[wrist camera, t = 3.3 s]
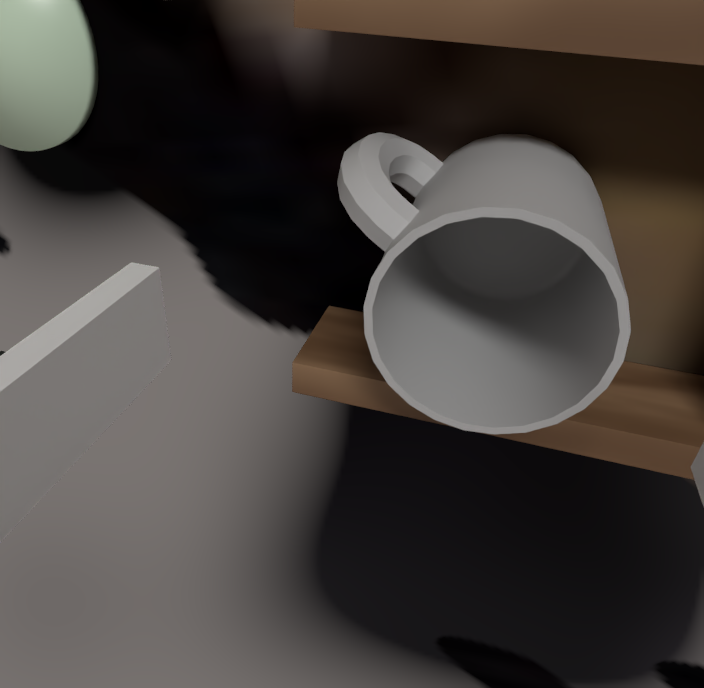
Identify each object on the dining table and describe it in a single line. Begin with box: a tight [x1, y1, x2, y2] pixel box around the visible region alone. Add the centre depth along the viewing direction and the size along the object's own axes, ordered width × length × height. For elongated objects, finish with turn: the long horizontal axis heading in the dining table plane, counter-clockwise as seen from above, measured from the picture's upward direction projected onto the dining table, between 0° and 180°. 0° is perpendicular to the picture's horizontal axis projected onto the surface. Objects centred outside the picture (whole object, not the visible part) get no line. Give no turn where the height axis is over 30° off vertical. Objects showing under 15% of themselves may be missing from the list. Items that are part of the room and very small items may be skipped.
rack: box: [292, 0, 704, 480], centre depth 21 cm, size 15×18×5 cm
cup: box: [337, 132, 631, 434], centre depth 20 cm, size 7×10×9 cm
